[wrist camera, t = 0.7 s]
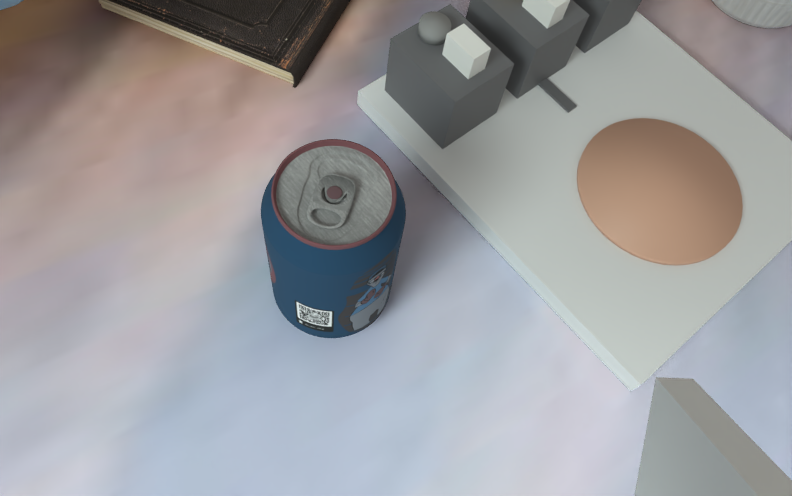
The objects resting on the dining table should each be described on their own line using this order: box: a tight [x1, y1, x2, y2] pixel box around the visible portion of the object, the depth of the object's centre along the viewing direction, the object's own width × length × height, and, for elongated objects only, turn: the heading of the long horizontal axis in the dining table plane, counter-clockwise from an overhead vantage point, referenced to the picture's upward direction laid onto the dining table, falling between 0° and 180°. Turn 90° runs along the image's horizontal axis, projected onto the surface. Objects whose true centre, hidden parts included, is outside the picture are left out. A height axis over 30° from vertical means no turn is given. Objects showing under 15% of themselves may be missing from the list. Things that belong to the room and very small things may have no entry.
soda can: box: [261, 139, 406, 338], centre depth 37 cm, size 7×7×12 cm
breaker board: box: [357, 0, 792, 391], centre depth 45 cm, size 26×22×8 cm
